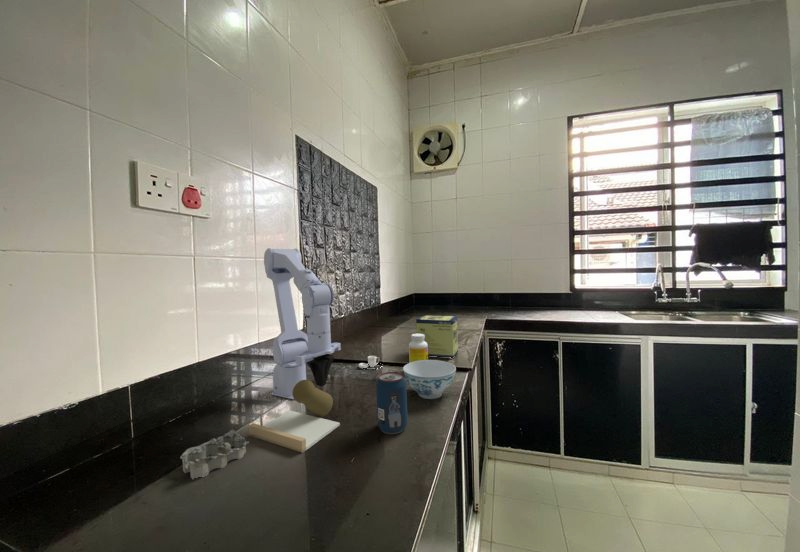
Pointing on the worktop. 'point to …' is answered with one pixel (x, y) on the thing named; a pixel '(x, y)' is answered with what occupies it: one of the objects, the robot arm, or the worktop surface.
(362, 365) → the teacup and saucer
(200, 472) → the egg carton
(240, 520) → the worktop surface
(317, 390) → the cork
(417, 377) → the chinaware
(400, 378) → the soda can
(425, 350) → the supplement bottle
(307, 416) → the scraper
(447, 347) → the protein box
